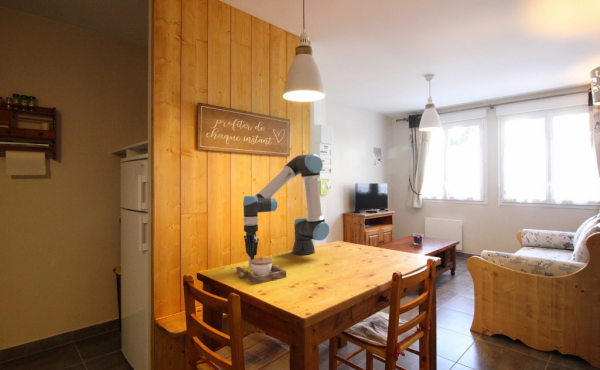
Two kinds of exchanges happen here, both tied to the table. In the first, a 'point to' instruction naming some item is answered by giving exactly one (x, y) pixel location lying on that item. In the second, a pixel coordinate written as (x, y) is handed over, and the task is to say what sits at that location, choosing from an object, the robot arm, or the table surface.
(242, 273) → the rail
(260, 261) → the lidded jar
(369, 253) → the table surface
